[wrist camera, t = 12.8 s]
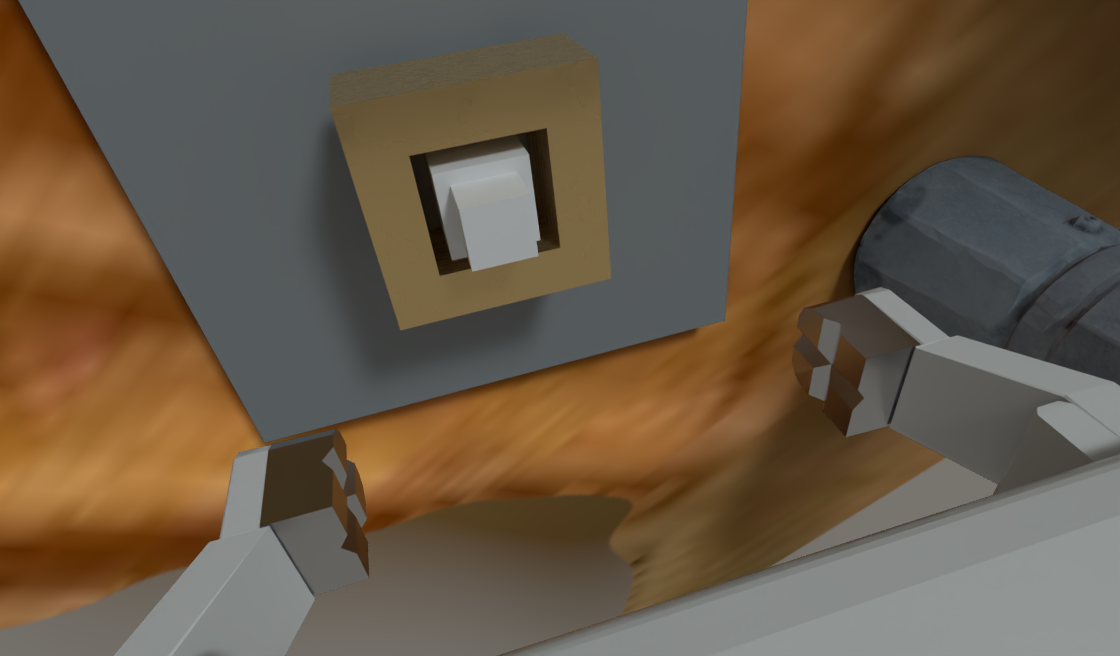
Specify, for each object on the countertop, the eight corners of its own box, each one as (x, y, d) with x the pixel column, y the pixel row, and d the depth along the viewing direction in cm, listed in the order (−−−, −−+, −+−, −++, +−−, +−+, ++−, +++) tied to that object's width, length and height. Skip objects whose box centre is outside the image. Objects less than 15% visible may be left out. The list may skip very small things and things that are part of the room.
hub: (739, -285, 18) (938, -358, 12) (709, 302, 30) (801, 409, 24) (-65, -205, 15) (-332, -251, 9) (267, 417, 27) (249, 572, 21)
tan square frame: (564, 33, 18) (597, 57, 16) (582, 235, 22) (611, 278, 20) (330, 74, 17) (329, 107, 15) (393, 279, 21) (400, 330, 19)
